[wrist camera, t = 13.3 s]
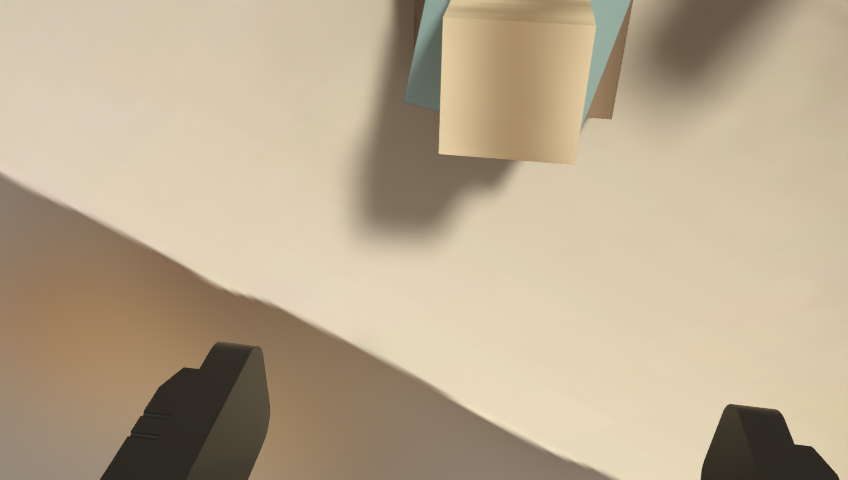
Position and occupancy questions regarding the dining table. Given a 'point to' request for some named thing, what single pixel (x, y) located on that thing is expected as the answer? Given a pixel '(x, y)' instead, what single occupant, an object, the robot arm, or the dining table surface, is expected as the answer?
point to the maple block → (515, 78)
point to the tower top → (427, 57)
